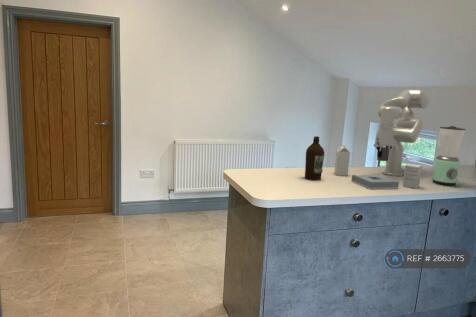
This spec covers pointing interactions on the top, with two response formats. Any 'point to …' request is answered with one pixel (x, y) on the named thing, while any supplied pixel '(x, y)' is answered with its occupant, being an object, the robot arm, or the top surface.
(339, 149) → the milk carton
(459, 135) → the mint green blender
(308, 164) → the olive oil
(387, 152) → the plug
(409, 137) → the robot arm
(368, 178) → the socket plate
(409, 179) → the supplement box
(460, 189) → the top surface
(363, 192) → the top surface
